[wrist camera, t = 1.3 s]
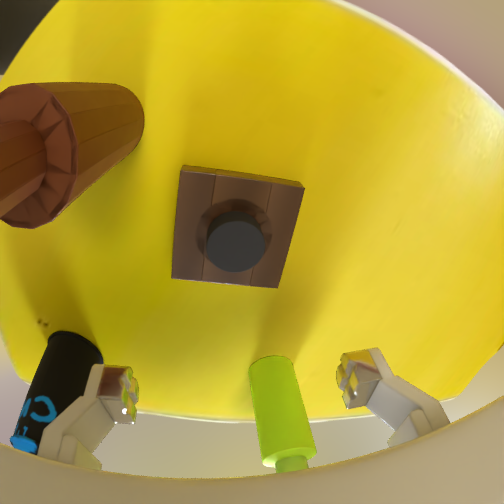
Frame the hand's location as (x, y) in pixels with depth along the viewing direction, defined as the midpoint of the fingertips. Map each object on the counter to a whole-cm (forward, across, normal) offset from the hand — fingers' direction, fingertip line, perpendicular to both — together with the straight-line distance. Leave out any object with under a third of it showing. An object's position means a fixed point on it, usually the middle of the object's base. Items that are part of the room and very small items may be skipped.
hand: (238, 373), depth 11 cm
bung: (+18, -1, +2) cm, 18 cm away
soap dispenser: (+18, -5, +23) cm, 30 cm away
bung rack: (+18, -1, +2) cm, 18 cm away
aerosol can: (+18, +20, +19) cm, 33 cm away
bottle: (+18, +10, -8) cm, 21 cm away
